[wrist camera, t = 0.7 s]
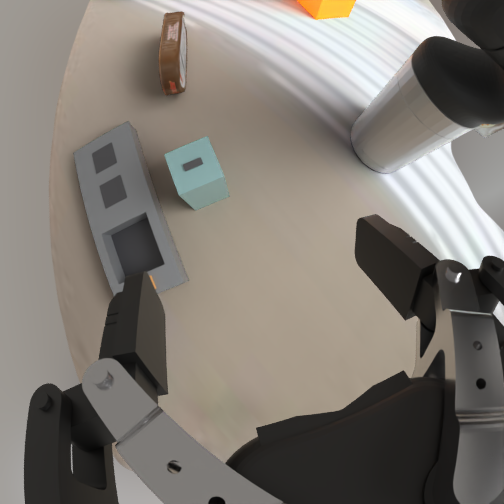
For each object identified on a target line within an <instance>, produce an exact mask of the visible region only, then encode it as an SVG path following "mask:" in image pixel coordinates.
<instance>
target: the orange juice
mask: <svg viewBox="0 0 504 504" xmlns="http://www.w3.org/2000/svg"><path fill="white" fill-rule="evenodd" d="M297 1H298V2H299V3H300V4H301V5H302V6H303V7H304V8H305V9H306V10H307V11H308V12H309V13H310V14H311V15H312V16H313V17H314V18H315V20H318V19H328V18H340V17H349V14H350V12H351V10H352V8H353V6H354V3H355V1H356V0H297Z"/></svg>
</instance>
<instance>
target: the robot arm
mask: <svg viewBox="0 0 504 504" xmlns="http://www.w3.org/2000/svg"><path fill="white" fill-rule="evenodd" d="M442 7H443V10H444V12H445V14H446V16H447V17H448V19H449V20H450V21H451V22H452V23H453V24H454V25H455V26H456V27H457V28H458V29H459V30H460V31H461V32H462V33H464V34H465V35H466V36H467V37H468V38H469V39H470V40H472V41H473V42H474V43H475V44H476V45H478V46H479V47H480V48H481V49H477V48H473V47H470V46H467V45H464V44H462V43H459V42H457V41H454V40H451V39H448V38H445V37H439V36H434V37H429V38H427V39H426V40H424V41H423V42H422V43H421V44H420V45H419V47H418V48H417V49H416V50H415V51H414V53H413V54H412V55H411V56H410V57H409V59H408V60H407V61H406V62H405V63H404V64H403V66H402V67H401V68H400V69H399V71H398V72H397V73H396V74H395V75H394V76H393V78H392V79H391V80H390V81H389V82H388V83H387V85H386V86H385V87H384V88H383V89H382V91H381V92H380V93H379V94H378V95H377V96H376V98H375V99H374V100H373V101H372V102H371V103H370V105H369V106H368V107H367V108H366V109H365V110H364V112H363V113H362V114H361V115H360V116H359V117H358V119H357V120H356V121H355V123H354V124H353V126H352V129H351V142H352V145H353V148H354V150H355V152H356V154H357V156H358V157H359V158H360V159H361V161H362V162H363V163H364V164H366V165H367V166H368V167H370V168H371V169H373V170H375V171H377V172H381V173H392V172H395V171H397V170H399V169H401V168H403V167H404V166H406V165H408V164H410V163H412V162H414V161H416V160H418V159H419V158H421V157H423V156H425V155H427V154H428V153H430V152H432V151H434V150H436V149H438V148H439V147H441V146H443V145H445V144H447V143H449V142H450V141H452V140H454V139H456V138H458V137H460V136H461V135H463V134H465V133H467V132H468V131H470V130H472V129H474V128H476V127H478V126H480V125H482V124H491V125H494V124H500V123H504V0H442ZM355 258H356V261H357V264H358V265H359V267H360V268H361V269H362V270H363V271H364V272H365V274H366V275H367V276H368V277H369V278H370V279H371V280H372V282H373V283H374V284H375V285H376V286H377V287H378V288H379V290H380V291H381V292H382V293H383V294H384V295H385V297H386V298H387V299H388V300H389V301H390V303H391V304H392V305H393V306H394V307H395V309H396V310H397V311H398V312H399V313H400V315H401V316H402V317H403V318H404V319H405V320H407V319H409V318H412V317H414V316H417V317H418V321H417V325H416V360H415V368H414V372H413V375H412V378H409V377H408V376H407V374H406V373H405V371H404V370H403V371H401V372H400V373H398V374H396V375H394V376H392V377H390V378H388V379H386V380H384V381H382V382H380V383H378V384H376V385H374V386H372V387H371V388H370V389H368V390H367V391H366V392H365V393H363V394H362V395H361V396H360V397H358V398H357V399H356V400H354V401H353V402H352V403H351V404H349V405H348V406H347V407H345V408H344V409H342V410H339V411H335V412H328V413H320V414H312V415H303V416H296V417H292V418H289V419H286V420H283V421H279V422H276V423H272V424H269V425H265V426H262V427H258V428H256V430H257V433H258V437H256V438H255V439H253V440H251V441H249V442H248V443H246V444H245V445H243V446H242V447H241V448H239V449H238V450H237V451H236V452H235V453H234V454H233V455H232V456H231V457H230V458H229V459H228V460H227V462H226V463H223V462H222V461H221V460H219V459H218V458H217V457H216V456H214V455H213V454H212V453H211V452H209V451H208V450H207V449H206V448H204V447H203V446H202V445H201V444H200V443H198V442H197V441H196V440H195V439H194V438H193V437H191V436H190V435H189V434H188V433H187V432H186V431H185V430H184V429H182V428H181V427H180V426H179V425H178V424H177V423H176V422H175V421H174V420H173V419H172V418H171V417H170V416H168V415H167V414H166V413H165V412H164V411H163V410H162V409H161V408H160V407H159V406H158V396H160V395H166V394H168V386H167V367H166V337H165V313H164V309H163V306H162V303H161V301H160V299H159V297H158V294H157V292H156V290H155V288H154V286H153V283H152V281H151V279H150V277H149V275H148V273H147V272H146V271H144V272H140V273H136V274H132V275H128V276H126V277H125V281H124V286H123V291H122V292H118V293H116V295H115V296H114V298H113V299H112V301H111V302H110V304H109V308H108V312H107V317H106V322H105V327H104V332H103V337H102V343H101V348H100V354H99V360H98V361H96V362H94V363H93V364H92V365H90V366H89V368H88V369H87V370H86V372H85V373H84V376H83V379H82V383H81V384H79V385H77V386H75V387H72V388H70V389H68V390H66V391H63V392H62V391H61V390H60V389H59V388H58V387H57V386H55V385H53V384H44V385H42V386H41V387H39V388H38V389H37V390H36V391H35V393H34V394H33V396H32V398H31V401H30V406H29V413H28V420H27V430H26V441H25V455H24V493H25V504H119V503H118V497H117V490H116V483H115V475H114V466H113V455H112V443H113V442H116V441H117V444H116V445H115V446H116V449H117V451H118V452H119V454H120V455H121V456H122V458H123V459H124V460H125V461H126V463H127V464H128V465H129V466H130V467H131V469H132V470H133V471H134V472H135V473H136V474H137V476H138V477H139V478H140V479H141V480H142V481H143V482H144V483H145V485H146V486H147V487H148V488H149V489H150V490H151V491H152V492H153V493H154V494H155V495H156V496H157V497H158V498H159V499H160V500H161V501H162V502H163V503H164V504H504V326H503V325H502V324H501V323H500V321H499V320H498V319H497V318H496V317H495V315H494V314H493V312H494V310H495V308H496V306H497V304H498V302H499V301H500V302H501V303H502V304H503V305H504V261H503V260H501V259H500V258H497V257H495V256H486V257H484V258H483V260H482V263H481V266H480V268H479V269H472V270H468V269H467V268H466V267H465V266H464V265H463V264H461V263H460V262H457V261H454V260H449V259H447V260H442V261H440V260H439V259H437V258H436V257H435V256H434V255H433V254H432V253H430V252H429V251H428V250H427V249H426V248H424V247H423V246H422V245H421V244H420V243H418V242H416V240H415V239H413V238H412V237H410V236H409V235H408V234H407V233H406V232H405V231H403V230H402V229H401V228H399V227H396V226H394V225H392V224H389V223H388V222H387V221H385V220H384V219H383V218H381V217H380V216H379V215H376V214H375V215H370V216H366V217H362V218H359V219H358V221H357V227H356V242H355ZM71 444H72V455H73V456H72V457H73V458H72V459H73V473H72V471H71Z"/></svg>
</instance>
